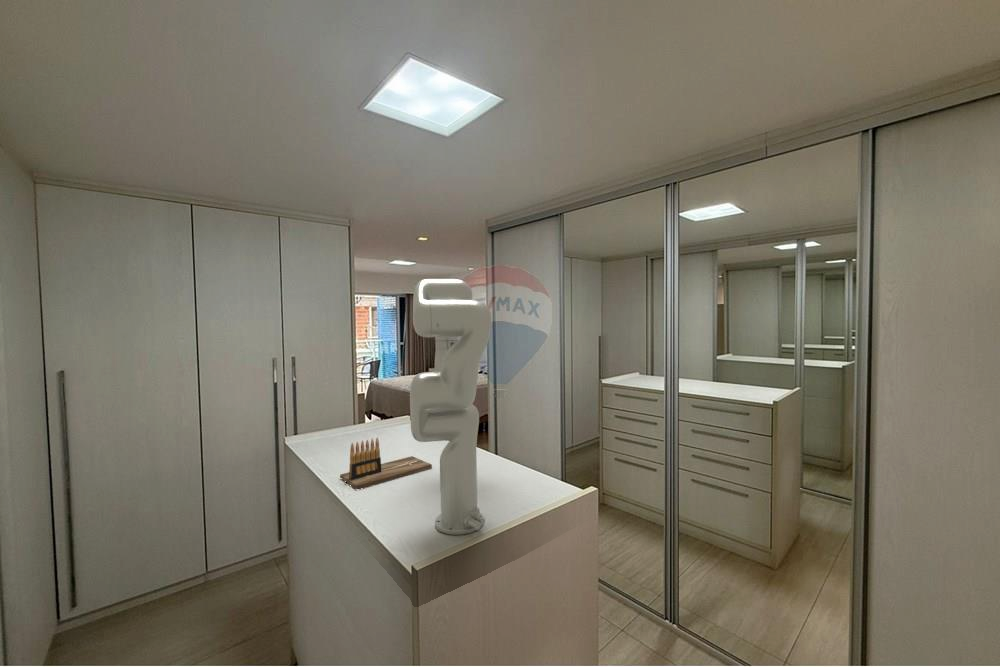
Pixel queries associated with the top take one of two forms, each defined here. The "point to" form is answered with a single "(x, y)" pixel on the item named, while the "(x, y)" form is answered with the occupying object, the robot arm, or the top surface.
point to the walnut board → (389, 472)
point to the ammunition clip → (364, 460)
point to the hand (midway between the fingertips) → (448, 397)
